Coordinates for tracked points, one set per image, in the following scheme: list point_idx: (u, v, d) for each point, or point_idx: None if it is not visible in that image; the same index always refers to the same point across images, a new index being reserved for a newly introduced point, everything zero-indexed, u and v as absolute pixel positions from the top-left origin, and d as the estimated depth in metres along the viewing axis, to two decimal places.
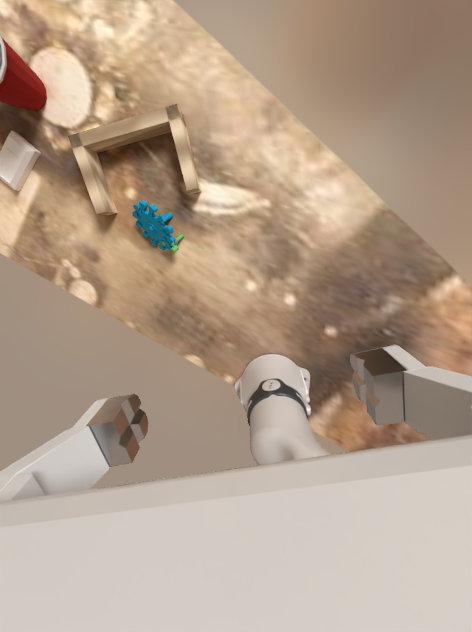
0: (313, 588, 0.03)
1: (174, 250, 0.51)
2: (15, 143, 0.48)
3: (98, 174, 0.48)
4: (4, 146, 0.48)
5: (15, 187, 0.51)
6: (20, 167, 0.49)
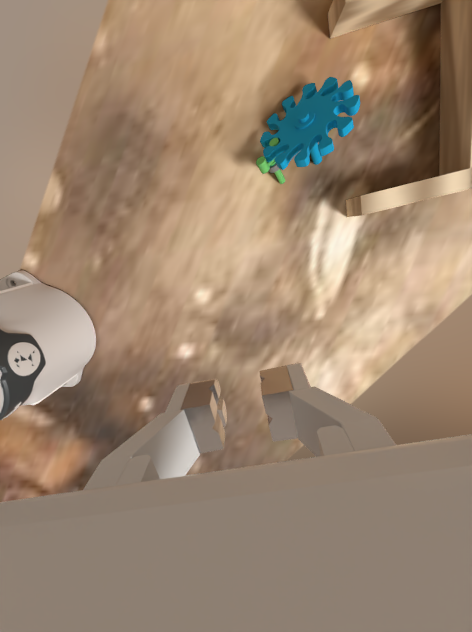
0: (313, 588, 0.03)
1: (261, 165, 0.28)
2: None
3: None
4: None
5: None
6: None
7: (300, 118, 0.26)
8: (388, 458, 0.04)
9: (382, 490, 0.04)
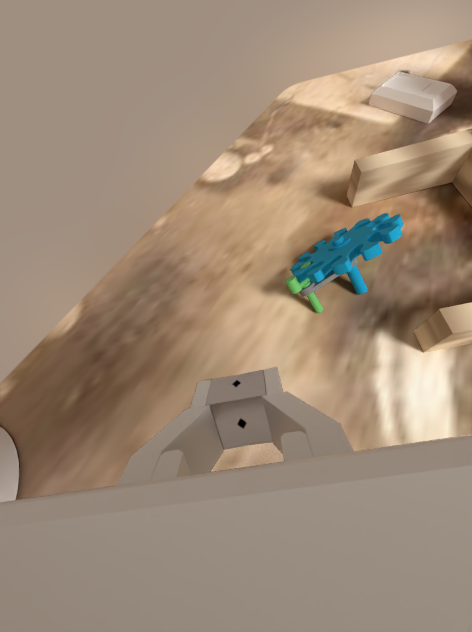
0: (313, 588, 0.03)
1: (290, 282, 0.23)
2: (441, 90, 0.33)
3: (422, 171, 0.27)
4: (434, 81, 0.34)
5: (374, 95, 0.36)
6: (406, 95, 0.34)
7: (334, 241, 0.23)
8: (388, 458, 0.04)
9: (382, 490, 0.04)
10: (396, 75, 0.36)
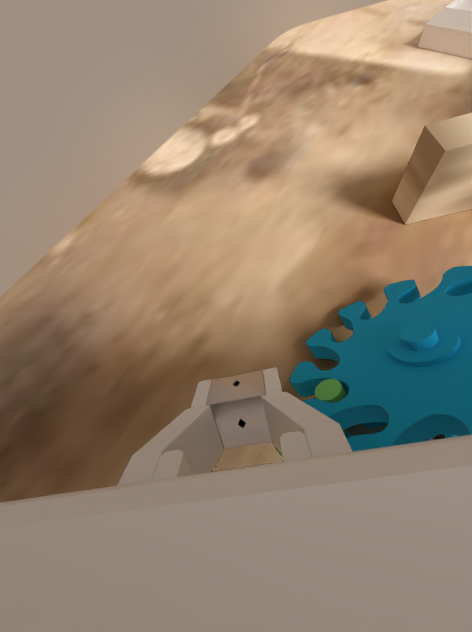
0: (313, 588, 0.03)
1: None
2: None
3: None
4: None
5: (431, 26, 0.21)
6: None
7: (410, 339, 0.08)
8: (388, 458, 0.04)
9: (382, 490, 0.04)
10: None
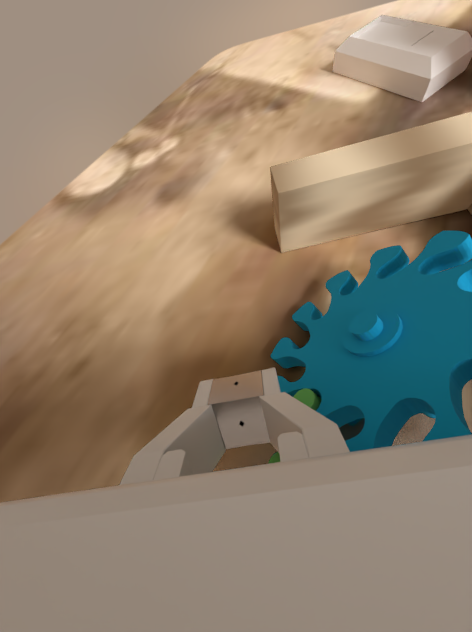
0: (313, 588, 0.03)
1: None
2: (449, 41, 0.18)
3: (408, 190, 0.13)
4: (437, 27, 0.19)
5: (340, 53, 0.22)
6: (387, 51, 0.20)
7: (359, 331, 0.09)
8: (388, 458, 0.04)
9: (382, 490, 0.04)
10: (377, 21, 0.22)
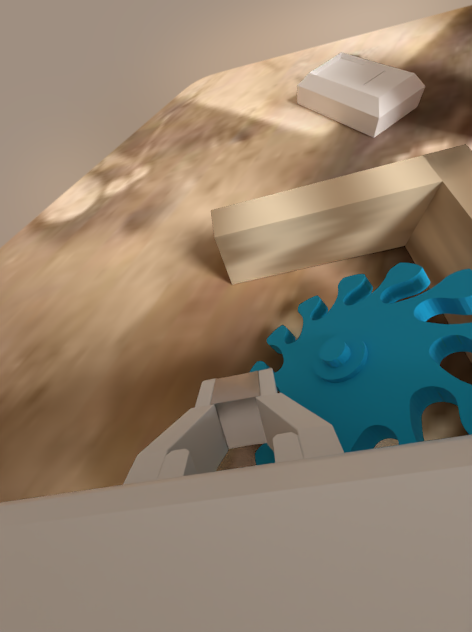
0: (313, 588, 0.03)
1: None
2: (396, 82, 0.19)
3: (341, 232, 0.14)
4: (388, 68, 0.21)
5: (302, 88, 0.23)
6: (341, 89, 0.21)
7: (329, 358, 0.09)
8: (388, 458, 0.04)
9: (382, 490, 0.04)
10: (337, 58, 0.23)
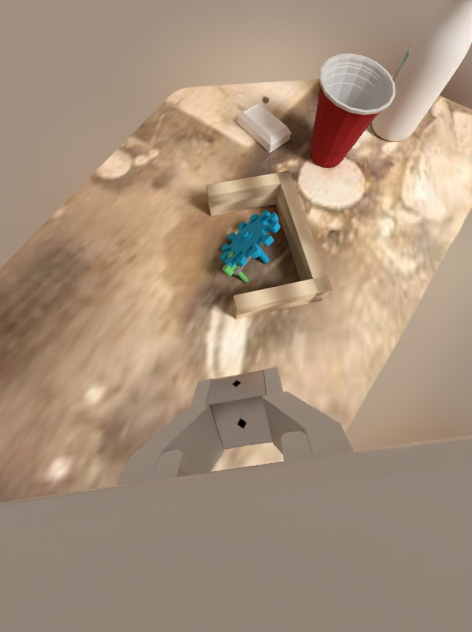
0: (313, 588, 0.03)
1: (226, 269, 0.36)
2: (279, 129, 0.45)
3: (251, 197, 0.40)
4: (277, 119, 0.45)
5: (240, 117, 0.47)
6: (257, 126, 0.45)
7: (243, 235, 0.36)
8: (388, 458, 0.04)
9: (382, 490, 0.04)
10: (257, 105, 0.47)
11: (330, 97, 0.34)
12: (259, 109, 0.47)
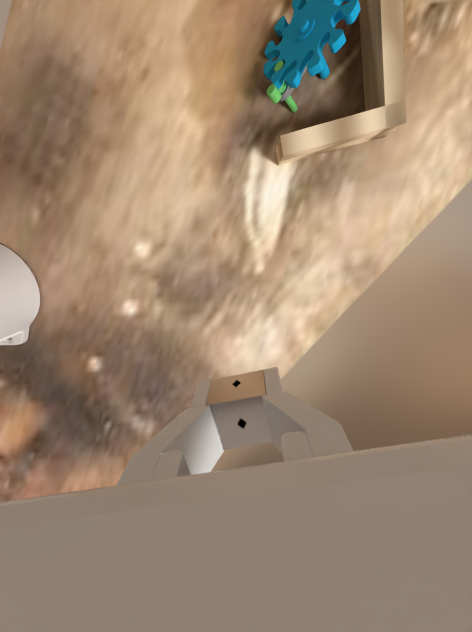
0: (313, 588, 0.03)
1: (272, 93, 0.27)
2: None
3: None
4: None
5: None
6: None
7: (300, 27, 0.25)
8: (388, 458, 0.04)
9: (382, 490, 0.04)
10: None
11: None
12: None
